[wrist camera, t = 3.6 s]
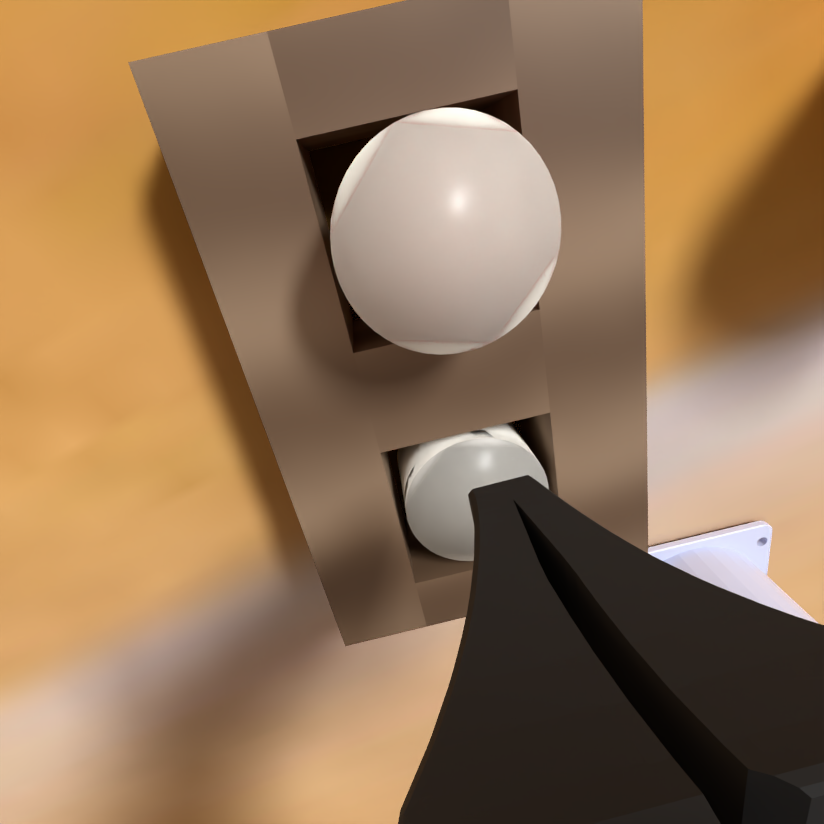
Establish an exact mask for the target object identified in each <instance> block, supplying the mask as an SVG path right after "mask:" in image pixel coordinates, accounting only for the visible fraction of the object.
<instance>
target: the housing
mask: <svg viewBox="0 0 824 824" xmlns="http://www.w3.org/2000/svg"><path fill="white" fill-rule="evenodd" d="M129 65H130V68H131V71H132V74H133V76H134V79H135V82H136V84H137V87H138V90H139V92H140V95H141V98H142V100H143V103H144V106H145V108H146V111H147V114H148V117H149V119H150V122H151V125H152V127H153V130H154V133H155V135H156V138H157V141H158V143H159V146H160V149H161V151H162V154H163V157H164V160H165V162H166V165H167V168H168V170H169V173H170V176H171V178H172V181H173V184H174V186H175V189H176V192H177V194H178V197H179V200H180V203H181V205H182V208H183V211H184V213H185V216H186V219H187V221H188V224H189V227H190V229H191V232H192V235H193V237H194V240H195V243H196V246H197V248H198V251H199V254H200V256H201V259H202V262H203V264H204V267H205V270H206V272H207V275H208V278H209V280H210V283H211V286H212V289H213V291H214V294H215V297H216V299H217V302H218V305H219V307H220V310H221V313H222V315H223V318H224V321H225V323H226V326H227V329H228V332H229V334H230V337H231V340H232V342H233V345H234V348H235V350H236V353H237V356H238V358H239V361H240V364H241V366H242V369H243V372H244V375H245V377H246V380H247V383H248V385H249V388H250V391H251V393H252V396H253V399H254V401H255V404H256V407H257V409H258V412H259V415H260V418H261V420H262V423H263V426H264V428H265V431H266V434H267V436H268V439H269V442H270V444H271V447H272V450H273V452H274V455H275V458H276V461H277V463H278V466H279V469H280V471H281V474H282V477H283V479H284V482H285V485H286V487H287V490H288V493H289V495H290V498H291V501H292V504H293V506H294V509H295V512H296V514H297V517H298V520H299V522H300V525H301V528H302V530H303V533H304V536H305V538H306V541H307V544H308V547H309V549H310V552H311V555H312V557H313V560H314V563H315V565H316V568H317V571H318V573H319V576H320V579H321V581H322V584H323V587H324V590H325V592H326V595H327V598H328V600H329V603H330V606H331V608H332V611H333V614H334V616H335V619H336V622H337V624H338V627H339V630H340V633H341V635H342V638H343V641H344V643H345V646H348V645H352V644H356V643H360V642H364V641H368V640H372V639H376V638H381V637H385V636H389V635H393V634H397V633H401V632H405V631H409V630H414V629H418V628H422V627H426V626H430V625H434V624H438V623H442V622H447V621H451V620H455V619H459V618H463V617H466V615H467V609H468V603H469V597H470V590H471V581H472V572H473V562H474V561H459V560H452V559H449V558H445V557H442V556H440V555H437V554H435V553H434V552H432V551H430V550H429V549H427V548H426V547H425V546H423V545H422V544H421V543H420V542H419V541H418V539H417V538H416V537H415V535H414V534H413V532H412V530H411V528H410V526H409V523H408V520H407V518H405V517H404V513H403V509H402V506H401V502H400V498H399V494H398V490H397V487H396V483H395V479H394V475H393V471H392V467H391V464H390V460H389V456H388V452H387V451H390V450H395V449H399V448H403V447H407V446H411V445H416V444H420V443H424V442H428V441H432V440H437V439H441V438H445V437H449V436H454V435H458V434H462V433H466V432H470V431H475V430H479V429H483V428H487V427H492V426H496V425H500V424H504V423H508V422H513V421H517V420H520V425H521V432H522V438H523V439H524V441H525V442H526V444H527V445H528V447H529V448H530V450H531V451H532V452H533V454H534V455H535V457H536V458H537V460H538V461H539V463H540V464H541V466H542V468H543V469H544V471H545V474H546V477H547V481H548V486H549V490H550V491H551V492H553V493H554V494H556V495H557V496H558V497H560V498H561V499H562V500H564V501H565V502H567V503H568V504H570V505H571V506H572V507H574V508H575V509H577V510H578V511H580V512H581V513H583V514H584V515H586V516H587V517H589V518H590V519H592V520H593V521H595V522H596V523H598V524H599V525H601V526H603V527H604V528H606V529H607V530H609V531H610V532H612V533H614V534H615V535H617V536H619V537H620V538H622V539H624V540H625V541H627V542H629V543H631V544H632V545H634V546H636V547H638V548H639V549H641V550H643V551H645V552H646V553H648V492H647V396H646V300H645V204H644V108H643V11H642V0H406V1H401V2H397V3H392V4H388V5H383V6H379V7H374V8H370V9H366V10H361V11H357V12H352V13H348V14H343V15H339V16H334V17H330V18H325V19H321V20H316V21H312V22H307V23H303V24H298V25H294V26H290V27H285V28H281V29H276V30H272V31H267V32H263V33H258V34H254V35H249V36H245V37H240V38H236V39H231V40H227V41H222V42H218V43H214V44H209V45H205V46H200V47H196V48H191V49H187V50H182V51H178V52H173V53H169V54H164V55H160V56H155V57H151V58H146V59H142V60H137V61H133V62H129ZM437 108H464V109H470V110H476V111H479V112H482V113H485V114H488V115H491V116H493V117H495V118H497V119H499V120H501V121H503V122H505V123H506V124H508V125H509V126H511V127H512V128H513V129H515V130H516V131H518V132H519V133H520V134H521V135H522V136H523V137H524V138H525V139H526V140H527V141H528V142H529V143H530V144H531V145H532V146H533V148H534V149H535V150H536V151H537V153H538V154H539V155H540V157H541V158H542V160H543V162H544V163H545V165H546V167H547V169H548V170H549V173H550V175H551V178H552V180H553V182H554V185H555V188H556V192H557V196H558V200H559V206H560V213H561V239H560V248H559V253H558V257H557V262H556V265H555V268H554V271H553V274H552V277H551V279H550V281H549V283H548V285H547V287H546V289H545V291H544V293H543V295H542V296H541V298H540V299H539V301H538V302H537V304H536V305H535V306H534V308H533V309H532V310H531V311H530V313H529V314H528V315H527V316H526V317H525V318H524V319H523V320H522V321H521V322H520V323H519V324H518V325H517V326H516V327H514V328H513V329H512V330H511V331H509V332H508V333H507V334H505V335H504V336H502V337H500V338H499V339H497V340H495V341H494V342H492V343H489V344H487V345H485V346H483V347H480V348H477V349H474V350H471V351H467V352H462V353H456V354H442V355H438V354H426V353H421V352H417V351H412V350H409V349H406V348H404V347H401V346H398V345H396V344H394V343H392V342H390V341H389V340H387V339H385V338H384V337H382V336H381V335H379V334H378V333H376V332H375V331H374V330H373V329H372V328H370V327H369V326H368V325H367V324H366V323H365V322H364V321H363V320H362V319H360V320H355V321H353V318H352V315H351V311H350V307H349V303H348V300H347V298H346V296H345V294H344V292H343V290H342V288H341V286H340V284H339V281H338V278H337V275H336V272H335V269H334V264H333V259H332V254H331V242H330V230H329V227H328V223H327V219H326V215H325V211H324V208H323V204H322V200H321V196H320V192H319V188H318V185H317V181H316V177H315V173H314V169H313V166H312V162H311V158H310V154H309V151H312V150H317V149H321V148H325V147H330V146H334V145H339V144H343V143H347V142H352V141H356V140H361V139H365V138H369V137H374V136H376V135H377V134H378V133H379V132H381V131H382V130H384V129H385V128H387V127H388V126H390V125H391V124H393V123H394V122H396V121H398V120H400V119H402V118H405V117H407V116H409V115H411V114H415V113H418V112H421V111H424V110H430V109H437Z"/></svg>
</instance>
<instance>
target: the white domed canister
mask: <svg viewBox="0 0 824 824" xmlns="http://www.w3.org/2000/svg"><path fill="white" fill-rule="evenodd" d="M397 460H398V467H399V473H400V479H401V485H402V491H403V497H404V503H405V509H406V515H407V520H408V523H409V526H410V528H411V530H412V532H413V534H414V535H415V537H416V538H417V539H418V541H419V542H420V543H421V544H422V545H423V546H425V547H426V548H427V549H429V550H430V551H432V552H434V553H435V554H437V555H440V556H442V557H445V558H449V559H452V560H459V561H474V522H473V518H472V513H471V508H470V503H469V498H468V494H469V492H470V491H471V490H472V489H474V488H478V487H482V486H486V485H490V484H494V483H498V482H502V481H505V480H509V479H513V478H517V477H521V476H525V475H529V476H531V477H532V478H534V479H535V480H537V481H538V482H539V483H541V484H542V485H543V486H545V487H546V488H547V489H549V486H548V481H547V477H546V474H545V471H544V469H543V468H542V466H541V464H540V463H539V461H538V460H537V458H536V457H535V455H534V454H533V452H532V451H531V450H530V448H529V447H528V445H527V444H526V442H525V441H524V439H523V438H522V437H521V435H520V434H519V432H518V431H517V429H516V428H515V426H514V425H513V423H512V422H508V423H504V424H500V425H496V426H492V427H487V428H483V429H479V430H475V431H470V432H466V433H462V434H458V435H454V436H449V437H445V438H441V439H437V440H432V441H428V442H424V443H420V444H416V445H411V446H407V447H403V448H399V449H398V454H397Z"/></svg>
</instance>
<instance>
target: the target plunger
mask: <svg viewBox="0 0 824 824" xmlns="http://www.w3.org/2000/svg"><path fill="white" fill-rule="evenodd" d="M560 239H561V213H560V206H559V200H558V196H557V192H556V188H555V185H554V182H553V180H552V178H551V175H550V173H549V170H548V169H547V167H546V165H545V163H544V162H543V160H542V158H541V157H540V155H539V154H538V153H537V151H536V150H535V149H534V148H533V146H532V145H531V144H530V143H529V142H528V141H527V140H526V139H525V138H524V137H523V136H522V135H521V134H520V133H519V132H518V131H516V130H515V129H513V128H512V127H511V126H509V125H508V124H506V123H505V122H503V121H501V120H499V119H497V118H495V117H493V116H491V115H488V114H485V113H482V112H479V111H476V110H470V109H464V108H437V109H430V110H424V111H421V112H418V113H415V114H411V115H409V116H407V117H405V118H402V119H400V120H398V121H396V122H394V123H393V124H391V125H390V126H388V127H387V128H385V129H384V130H382V131H381V132H379V133H378V134H377V135H376V136H375V137H374V138H373V139H372V140H370V141H369V142H368V143H367V144H366V145H365V147H364V148H363V149H362V150H361V151H360V153H359V154H358V155H357V156H356V157H355V159H354V161H353V162H352V164H351V165H350V167H349V168H348V170H347V171H346V174H345V176H344V178H343V180H342V182H341V184H340V186H339V189H338V193H337V196H336V199H335V202H334V206H333V212H332V217H331V229H330V242H331V254H332V259H333V264H334V269H335V272H336V275H337V278H338V281H339V284H340V286H341V288H342V290H343V292H344V294H345V296H346V298H347V300H348V301H349V303H350V304H351V306H352V308H353V309H354V311H355V312H356V313H357V314H358V315H359V316H360V318H361V319H362V320H363V321H364V322H365V323H366V324H367V325H368V326H369V327H370V328H372V329H373V330H374V331H375V332H376V333H378V334H379V335H381V336H382V337H384V338H385V339H387V340H389V341H390V342H392V343H394V344H396V345H398V346H401V347H404V348H406V349H409V350H412V351H417V352H421V353H426V354H438V355H442V354H456V353H462V352H467V351H471V350H474V349H477V348H480V347H483V346H485V345H487V344H489V343H492V342H494V341H495V340H497V339H499V338H500V337H502V336H504V335H505V334H507V333H508V332H509V331H511V330H512V329H513V328H514V327H516V326H517V325H518V324H519V323H520V322H521V321H522V320H523V319H524V318H525V317H526V316H527V315H528V314H529V313H530V311H531V310H532V309H533V308H534V306H535V305H536V304H537V302H538V301H539V299H540V298H541V296H542V295H543V293H544V291H545V289H546V287H547V285H548V283H549V281H550V279H551V277H552V274H553V271H554V268H555V265H556V262H557V257H558V253H559V248H560Z"/></svg>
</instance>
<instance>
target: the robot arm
mask: <svg viewBox="0 0 824 824" xmlns="http://www.w3.org/2000/svg"><path fill="white" fill-rule="evenodd" d="M468 498H469V503H470V508H471V513H472V518H473V522H474V562H473V572H472V581H471V590H470V597H469V603H468V609H467V615H466V620H465V625H464V630H463V634H462V639H461V643H460V647H459V651H458V654H457V658H456V662H455V666H454V670H453V673H452V677H451V680H450V683H449V687H448V690H447V693H446V696H445V698H444V701H443V704H442V707H441V710H440V713H439V716H438V719H437V722H436V725H435V728H434V730H433V733H432V736H431V739H430V741H429V744H428V746H427V749H426V751H425V754H424V756H423V759H422V761H421V763H420V766H419V768H418V770H417V773H416V775H415V777H414V780H413V782H412V784H411V787H410V789H409V791H408V794H407V796H406V798H405V801H404V803H403V806H402V808H401V811H400V816H399V822H398V824H824V625H821V624H818V623H817V622H816V621H815V620H814V619H813V618H812V617H811V616H810V615H809V614H808V613H807V612H806V611H804V610H803V609H802V608H801V607H800V606H799V605H798V604H797V603H796V602H795V601H794V600H793V599H792V598H790V597H789V596H788V595H787V594H786V593H785V592H784V591H783V590H782V589H781V588H780V587H779V586H778V585H776V584H775V583H774V582H773V581H772V580H771V579H770V578H769V577H768V576H767V570H768V562H769V554H770V545H771V537H772V527H771V526H770V525H769V524H768V523H766V522H765V521H756V522H752V523H748V524H743V525H739V526H735V527H731V528H727V529H723V530H719V531H714V532H710V533H706V534H702V535H698V536H694V537H690V538H685V539H681V540H677V541H673V542H669V543H665V544H661V545H657V546H652V547H648V553H646V552H645V551H643V550H641V549H639V548H638V547H636V546H634V545H632V544H631V543H629V542H627V541H625V540H624V539H622V538H620V537H619V536H617V535H615V534H614V533H612V532H610V531H609V530H607V529H606V528H604V527H603V526H601V525H599V524H598V523H596V522H595V521H593V520H592V519H590V518H589V517H587V516H586V515H584V514H583V513H581V512H580V511H578V510H577V509H575V508H574V507H572V506H571V505H570V504H568V503H567V502H565V501H564V500H562V499H561V498H560V497H558V496H557V495H556V494H554V493H553V492H551V491H550V490H549V489H547V488H546V487H545V486H543V485H542V484H541V483H539V482H538V481H537V480H535V479H534V478H532V477H531V476H529V475H525V476H521V477H517V478H513V479H509V480H505V481H502V482H498V483H494V484H490V485H486V486H482V487H478V488H474V489H472V490H471V491H470V492H469V494H468Z"/></svg>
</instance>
